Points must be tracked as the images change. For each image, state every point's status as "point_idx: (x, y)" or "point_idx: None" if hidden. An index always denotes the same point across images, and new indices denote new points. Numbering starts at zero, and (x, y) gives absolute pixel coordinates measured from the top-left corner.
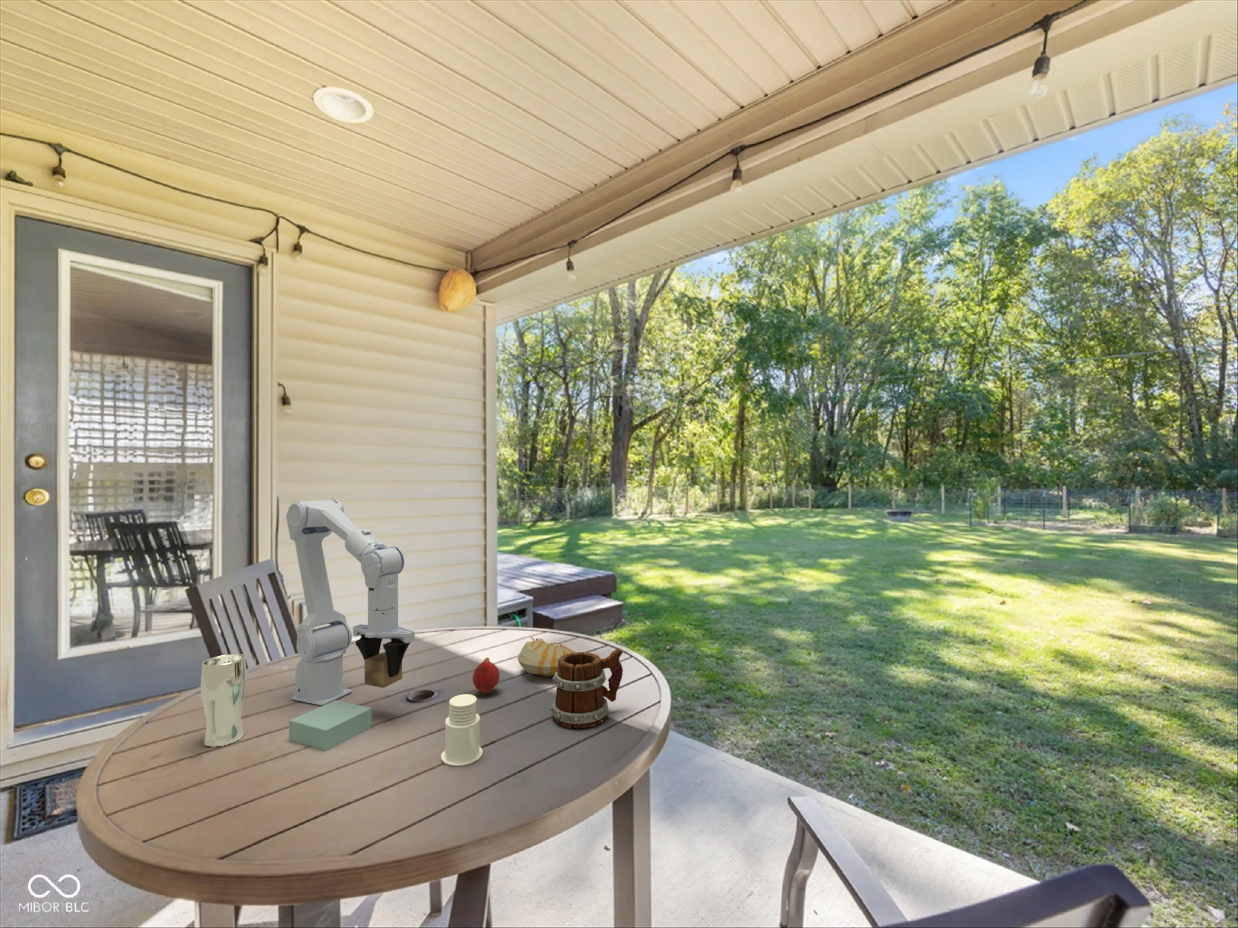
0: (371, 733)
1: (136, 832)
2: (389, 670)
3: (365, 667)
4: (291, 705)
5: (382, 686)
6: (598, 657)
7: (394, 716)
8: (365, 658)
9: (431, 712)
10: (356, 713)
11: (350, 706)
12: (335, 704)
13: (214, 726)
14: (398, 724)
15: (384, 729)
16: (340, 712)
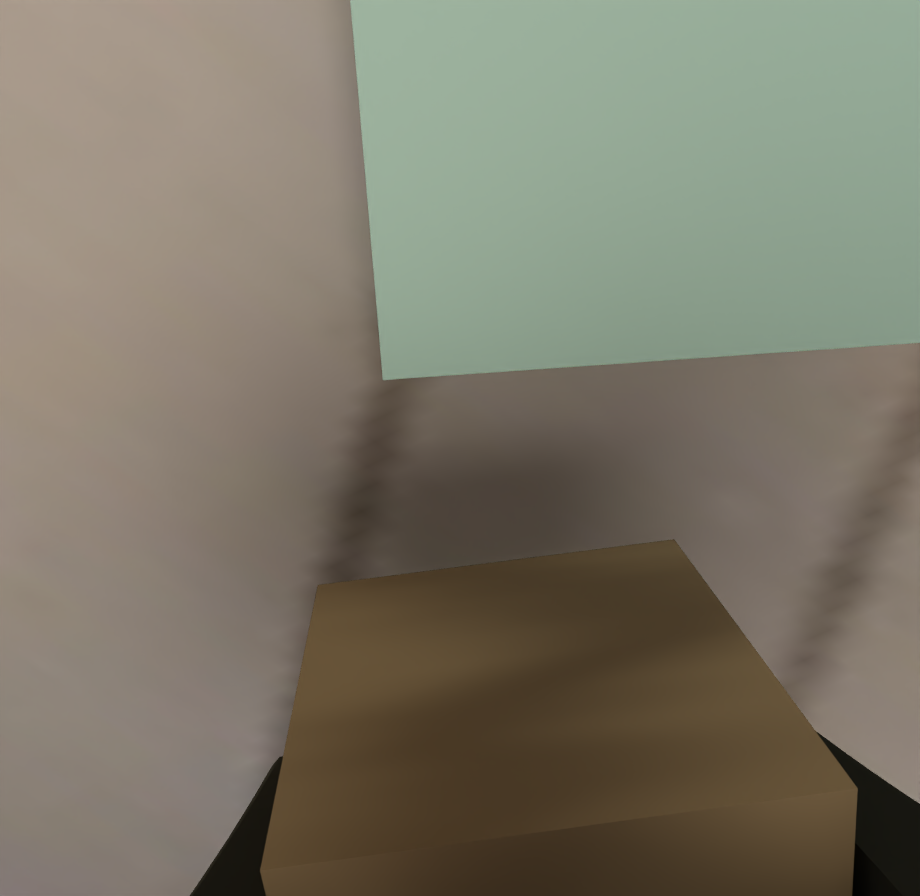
0: (266, 245)
1: None
2: (270, 817)
3: (754, 684)
4: None
5: (341, 590)
6: None
7: (377, 559)
8: (914, 847)
9: (158, 742)
10: (419, 201)
11: (652, 299)
12: (863, 254)
13: None
14: (207, 476)
15: (231, 354)
16: (621, 129)
